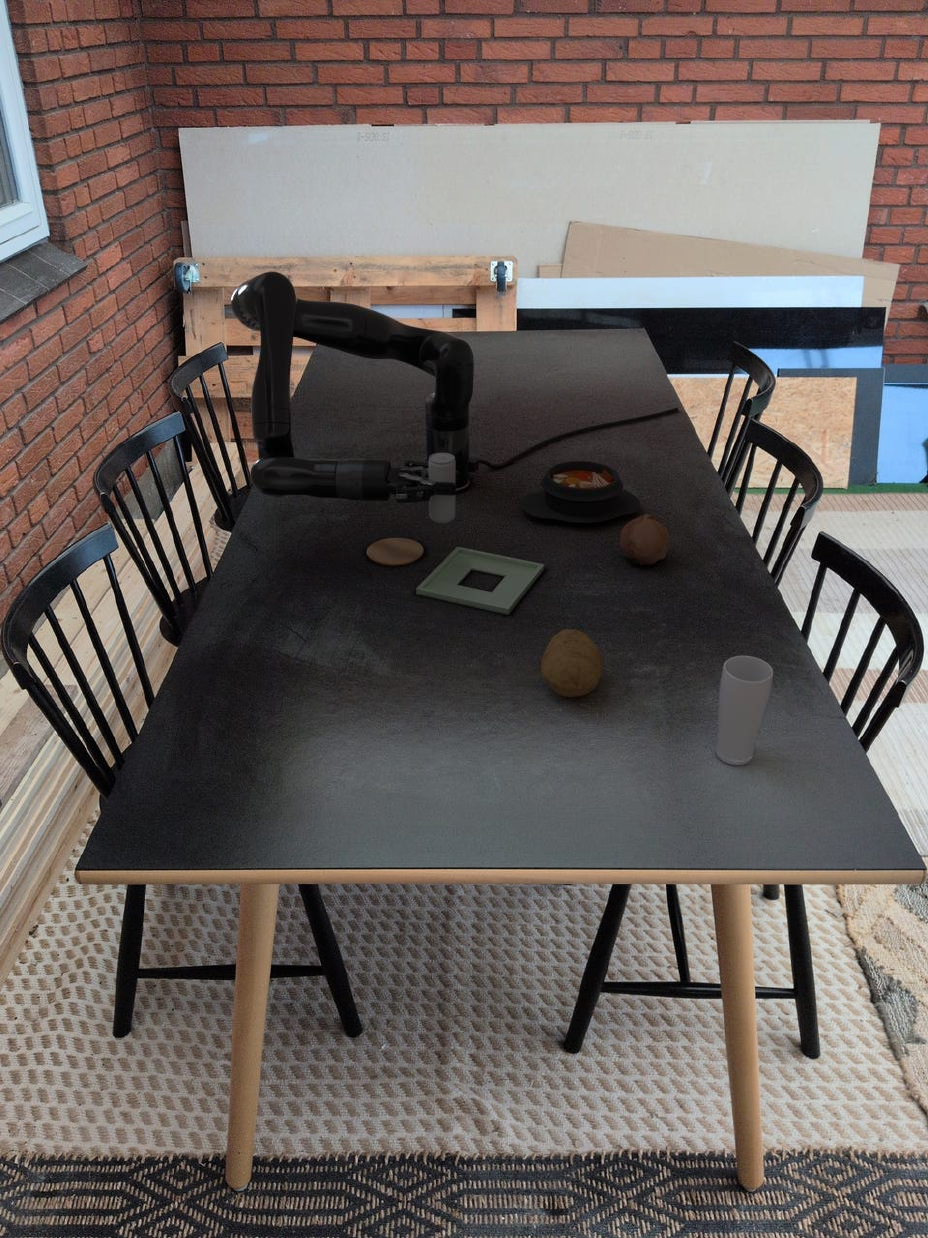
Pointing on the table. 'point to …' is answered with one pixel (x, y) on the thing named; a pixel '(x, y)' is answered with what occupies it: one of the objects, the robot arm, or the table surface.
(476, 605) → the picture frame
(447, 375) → the robot arm
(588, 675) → the potato
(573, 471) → the casserole
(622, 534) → the onion
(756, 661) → the drinking glass
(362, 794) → the table surface
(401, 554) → the coaster
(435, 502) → the beverage can
